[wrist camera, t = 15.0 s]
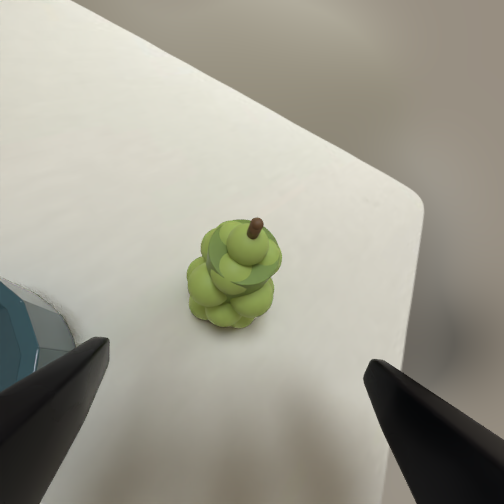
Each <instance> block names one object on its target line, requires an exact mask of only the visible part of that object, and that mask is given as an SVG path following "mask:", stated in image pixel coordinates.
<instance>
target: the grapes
mask: <svg viewBox="0 0 504 504" xmlns="http://www.w3.org/2000/svg"><path fill="white" fill-rule="evenodd" d="M263 225H264V224H263V221H262V219H260V218H253V219H252V220H251V221H249V220H233V221H226V222H223V223H221V224H220V225H219V226H218V227H217V228H215V229H212V230H211V231H209V232H208V233H207V234H206V235H205V236H204V238H203V240H202V243H201V253H202V257H199V258H197V259H195V260H194V261H193V262H192V263H191V264H190V266H189V267H188V270H187V281H188V290H189V293H190V298H189V307H190V310H191V312H192V313H193V315H195V316H196V317H197V318H199V319H202V320H210V321H211V322H212V323H213V324H215V325H217V326H220V327H228V326H232V327H234V328H244V327H246V326H248V325H250V324H251V323H252V321H253V320H254V318H255V317H258V316H261V315H263V314H264V313H265V312H266V311H267V310H268V309H269V308H270V306H271V304H272V300H273V293H274V284H273V281H272V279H271V278H270V277H271V276H272V275H274V274H275V273H276V272H277V271H278V269H279V267H280V265H281V262H282V254H281V250H280V248H279V246H278V244H277V242H276V240H275V238H274V236H273V235H272V234H271V233H270V232H269V231H268V230H267V229H266V228H265V227H263Z"/></svg>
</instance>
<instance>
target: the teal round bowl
mask: <svg viewBox="0 0 504 504" xmlns="http://www.w3.org/2000/svg"><path fill="white" fill-rule="evenodd" d="M74 348H76V347H75V344H74V340H73V337H72V334H71V332H70V330H69V327H68V325H67V323H66V322H65V321H64V319H63V316H61V314H59V313H58V312H57V311H56V310H55V309H54V308H53V307H52V306H51V305H50V304H48V303H47V302H46V301H44V300H43V299H41V298H40V297H39V296H37V295H36V294H35V293H34V292H32V291H30V290H28V289H25V288H23V287H21V286H19V285H17V284H15V283H13V282H11V281H9V280H6V279H4V278H2V277H0V392H1V391H3V390H5V389H6V388H8V387H10V386H12V385H13V384H15V383H17V382H18V381H20V380H22V379H23V378H25V377H27V376H28V375H30V374H32V373H33V372H35V371H37V370H39V369H40V368H42V367H44V366H45V365H47V364H49V363H50V362H52V361H54V360H55V359H57V358H59V357H61V356H62V355H64V354H66V353H67V352H69V351H71V350H72V349H74Z"/></svg>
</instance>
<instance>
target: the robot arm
mask: <svg viewBox="0 0 504 504" xmlns="http://www.w3.org/2000/svg"><path fill="white" fill-rule="evenodd" d="M109 346H110V342H109V339H108V338H105V337H93V338H91V339H89V340H88V341H86V342H84V343H82V344H81V345H79V346H77V347H76V348H74V349H72V350H71V351H69V352H67V353H66V354H64V355H62V356H61V357H59V358H57V359H55V360H54V361H52V362H50V363H49V364H47V365H45V366H44V367H42V368H40V369H39V370H37V371H35V372H33V373H32V374H30V375H28V376H27V377H25V378H23V379H22V380H20V381H18V382H17V383H15V384H13V385H12V386H10V387H8V388H6V389H5V390H3V391H1V392H0V504H40V502H41V500H42V498H43V496H44V494H45V493H46V491H47V489H48V487H49V485H50V483H51V482H52V480H53V478H54V476H55V474H56V472H57V471H58V469H59V467H60V465H61V463H62V461H63V460H64V458H65V456H66V454H67V452H68V450H69V449H70V447H71V445H72V443H73V441H74V439H75V438H76V436H77V434H78V432H79V430H80V428H81V426H82V424H83V422H84V421H85V418H86V416H87V414H88V412H89V409H90V407H91V405H92V402H93V400H94V398H95V395H96V393H97V390H98V388H99V386H100V383H101V381H102V379H103V376H104V374H105V372H106V369H107V367H108V364H109ZM363 380H364V384H365V387H366V390H367V392H368V395H369V398H370V400H371V403H372V405H373V408H374V411H375V413H376V416H377V419H378V421H379V424H380V426H381V429H382V431H383V433H384V435H385V438H386V440H387V442H388V444H389V446H390V448H391V450H392V452H393V454H394V456H395V458H396V461H397V463H398V465H399V467H400V469H401V471H402V474H403V476H404V478H405V480H406V482H407V484H408V486H409V488H410V490H411V493H412V495H413V497H414V499H415V501H416V503H417V504H504V440H503V439H502V438H500V437H499V436H497V435H496V434H494V433H493V432H491V431H490V430H488V429H486V428H485V427H484V426H482V425H481V424H479V423H478V422H476V421H475V420H473V419H472V418H470V417H468V416H467V415H466V414H464V413H463V412H461V411H460V410H458V409H457V408H455V407H454V406H452V405H451V404H449V403H448V402H446V401H444V400H443V399H441V398H440V397H438V396H437V395H435V394H434V393H432V392H431V391H429V390H428V389H426V388H425V387H423V386H422V385H420V384H419V383H417V382H416V381H414V380H413V379H411V378H410V377H408V376H407V375H405V374H404V373H402V372H401V371H399V370H398V369H396V368H395V367H393V366H392V365H390V364H389V363H387V362H386V361H384V360H380V359H372V360H371V361H370V362H369V365H368V367H367V369H366V371H365V374H364V377H363Z"/></svg>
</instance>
